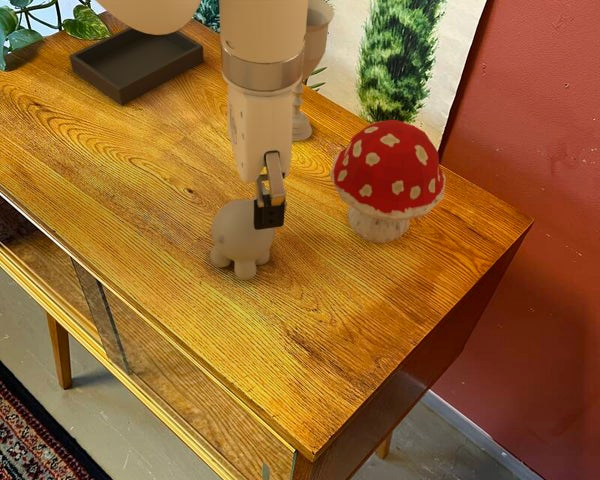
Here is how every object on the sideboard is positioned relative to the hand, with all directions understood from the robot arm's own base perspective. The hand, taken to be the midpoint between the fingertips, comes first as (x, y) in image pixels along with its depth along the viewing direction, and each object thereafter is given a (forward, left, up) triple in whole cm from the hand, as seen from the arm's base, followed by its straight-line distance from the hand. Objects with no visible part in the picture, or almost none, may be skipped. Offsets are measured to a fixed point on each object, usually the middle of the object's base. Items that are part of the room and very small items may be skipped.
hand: (259, 194), depth 74 cm
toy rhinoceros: (0, 0, -9) cm, 9 cm away
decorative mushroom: (+16, +1, -9) cm, 18 cm away
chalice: (+10, +21, -9) cm, 25 cm away
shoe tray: (-10, +39, -9) cm, 41 cm away
